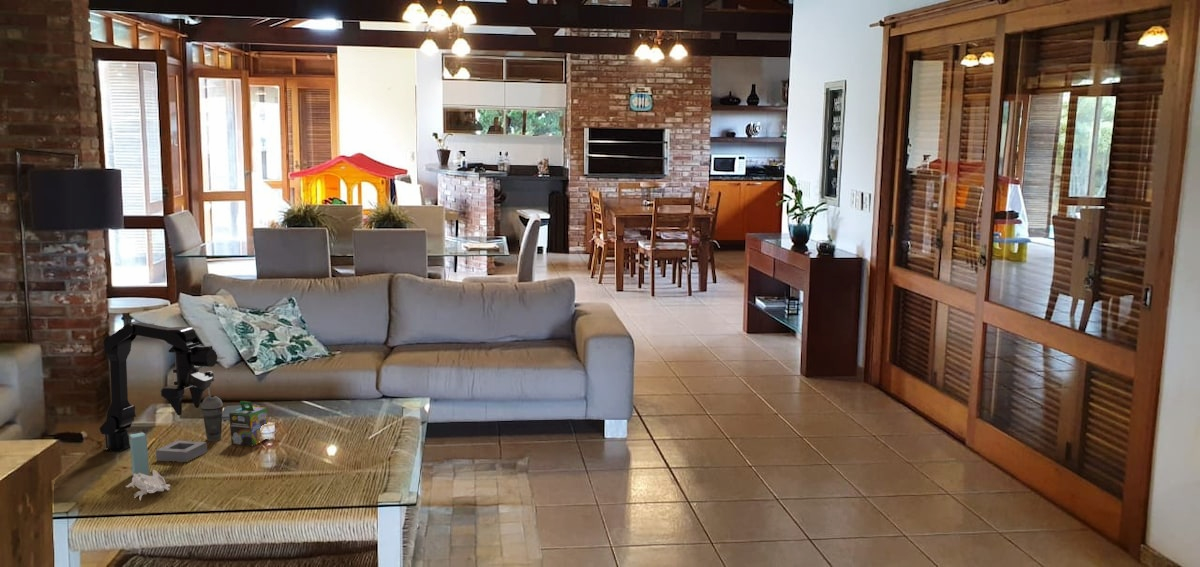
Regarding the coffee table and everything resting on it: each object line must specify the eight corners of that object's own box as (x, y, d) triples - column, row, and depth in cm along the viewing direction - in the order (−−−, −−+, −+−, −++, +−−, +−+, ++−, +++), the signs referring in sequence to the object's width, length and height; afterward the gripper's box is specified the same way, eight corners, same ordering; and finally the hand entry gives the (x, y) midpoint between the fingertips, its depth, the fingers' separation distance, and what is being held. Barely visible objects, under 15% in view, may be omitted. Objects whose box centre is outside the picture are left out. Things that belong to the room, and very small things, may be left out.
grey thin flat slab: (254, 415, 356) (211, 418, 352) (255, 420, 356) (212, 423, 353) (261, 402, 375) (221, 404, 372) (261, 407, 375) (221, 409, 372)
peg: (132, 474, 294) (129, 434, 293) (146, 472, 297) (143, 432, 295) (135, 478, 291) (132, 437, 289) (149, 475, 294) (146, 435, 292)
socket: (156, 460, 308) (156, 450, 308) (178, 450, 319) (177, 440, 318) (186, 462, 306) (185, 452, 305) (207, 452, 316) (206, 442, 316)
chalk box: (269, 439, 331) (267, 398, 329) (252, 447, 322) (249, 404, 320) (248, 436, 334) (245, 396, 332) (230, 444, 325) (227, 402, 323)
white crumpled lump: (138, 485, 269) (122, 468, 276) (133, 507, 269) (118, 489, 277) (180, 481, 278) (163, 465, 285) (175, 503, 278) (159, 486, 286)
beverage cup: (217, 443, 327) (213, 386, 324) (198, 441, 328) (194, 385, 325) (229, 436, 334) (226, 381, 331) (211, 435, 335) (207, 380, 332)
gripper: (188, 372, 300) (192, 420, 302) (223, 360, 318) (226, 405, 320) (158, 371, 302) (161, 418, 304) (194, 359, 320) (197, 403, 322)
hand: (188, 411), depth 313 cm, fingers open, 9 cm apart
